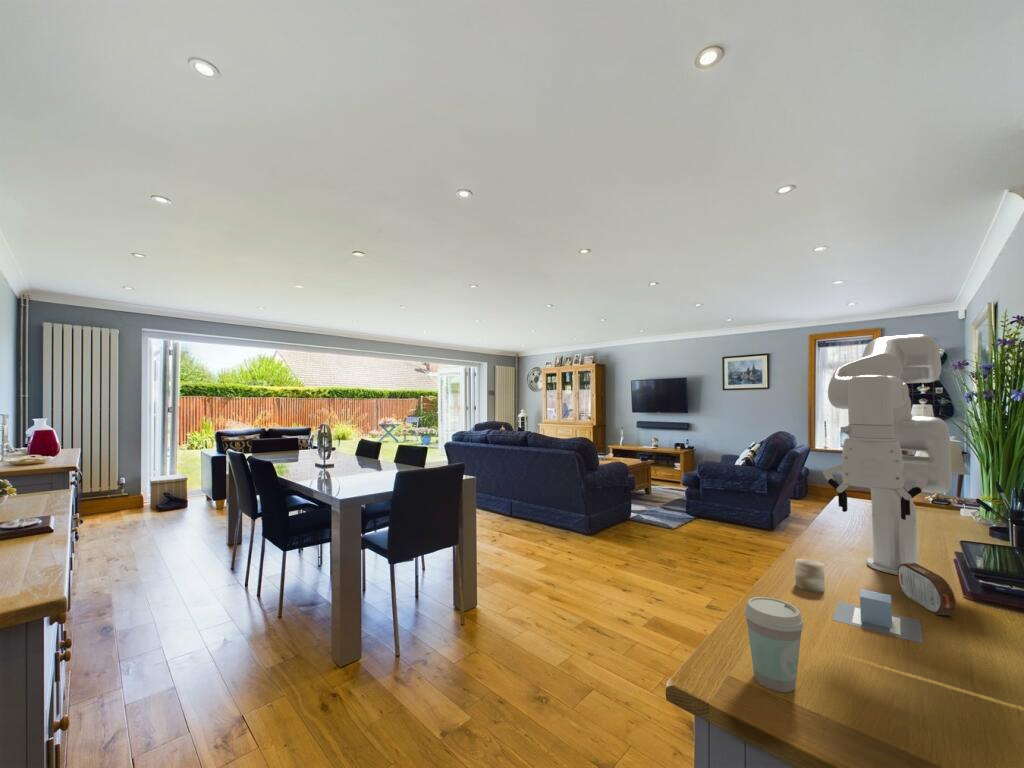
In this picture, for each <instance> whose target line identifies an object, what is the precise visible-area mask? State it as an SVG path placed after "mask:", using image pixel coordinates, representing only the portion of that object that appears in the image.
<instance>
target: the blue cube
mask: <svg viewBox="0 0 1024 768" xmlns="http://www.w3.org/2000/svg"><path fill="white" fill-rule="evenodd" d="M859 600H860V601H859V606H860V613H861V621H863V622H867V623H871V624H875V625H879V626H883V627H887V628H891V629H892V614H893V613H892V612H893V611H892V609H893V608H892V607H893V606H892V595H891V594H886V593H882V592H877V591H873V590H867V589H863V588H860V595H859Z"/></svg>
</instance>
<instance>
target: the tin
mask: <svg viewBox="0 0 1024 768" xmlns="http://www.w3.org/2000/svg"><path fill="white" fill-rule="evenodd" d="M897 570H898V575H897V579H898V586H899V587H900V590H901V591H902V593H903V595H905V597H907V598H908V599H910V600H912V601H913V602H915V603H916V604H918V605H919V606H921V607H923V608H924V609H926V610H927V611H929V612H930V613H933V614H934V615H936V616H948V617H952V616H953V615H954V614H955V613H956V610H957V602H956V597H955V593H954V592H953V590H952V587H951V585H950V584H949V583H948V581H946V579H945V578H944V577H942V576H941V575H939V574H937V573H935V572H934V571H932V570H930V569H928V568H925V567H924V566H922V565H920V564H919V563H918V564H916V563H904V564H900V565H899V566H898V569H897Z"/></svg>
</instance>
